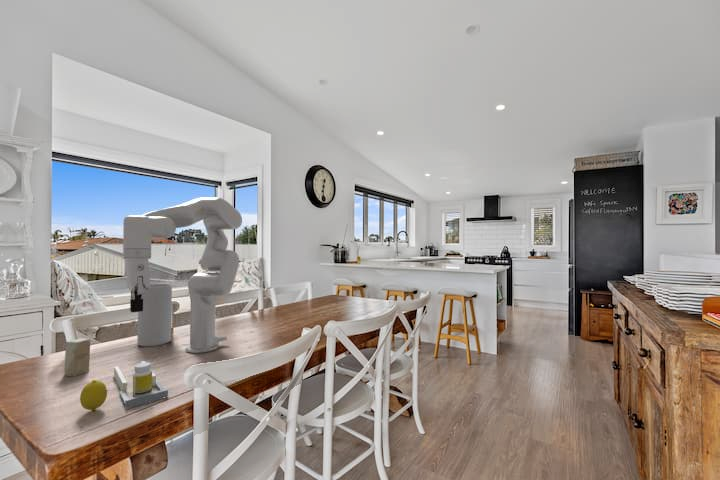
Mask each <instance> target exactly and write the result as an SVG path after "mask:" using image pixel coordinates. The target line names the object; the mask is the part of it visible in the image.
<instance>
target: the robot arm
mask: <svg viewBox="0 0 720 480" xmlns="http://www.w3.org/2000/svg"><path fill="white" fill-rule="evenodd" d="M200 221H202V222H203V225H204V228H205V231H206V233H207V234H206V235H207V241H206V245H205V248H204V251H203V253H202V255H201V259H200V268H201V269H202V270H203V271H206V272H197V273H194V274H192V275H191V276H190V277H189V279H188V282H187V287H188V288H187V289H188V294H189V298H190V302H189V303H190V317H189V323H190V324H189V344H188V345H186V346H185V351H186V352H187V353H191V354H202V353H208V352H212V351H215V350H217V349H219V346H220V344H219V343H220V342H224V341H228V340H227V339H228V338H227V335H224V336H223V335H218V336H217V335H216V310H217V309H216V302H215V300H214V298H213V297H226V296H228V295H229V294H230V293H231V291H232V289H233V286H234V283H235V280H236V276H237V273H238V270H239V266H240V257H239V254H238V253H237V252H236V251H234V250H231V249H227V248H228V246H229V240H228V237H227V236H226V234H225V232H224V230H237V229H239V228H240V227H241V226H242V224H243V217H242V215H241V213H240V211H238V209H237V208H236V207H234V206H233V205H232V204H231V203H230V202H229V201H227V200H225V199H224V198H221V197H216V196H215V197H198V198H194V199H192V200H190V201H187V202H183V203H181V204H179V205H175V206H170V207H166V208H163V209H157V210H152V211H150V212H147V213H144V214H142V215H126V216H125V217H124V218H123V226H122V227H123V235H122V238H123V240H122V249H123V250H122V259H123V260H126V287H127V289H129V290H130V298H129V299H130V304H129V305H130V307H129V308H130V310H129V311H130V313H138V312H140V311H143V288H145V289H146V290H148V289H149V288H150V284H151V280H150V279H151V278H150V277H151V275H150V261H149V259H152V239H155V240H164V239H168V238H171V237H173V236H174V234H175V233H176V231H177V229H180V228H186V227H190V226H192V225H194V224H196V223H198V222H200Z"/></svg>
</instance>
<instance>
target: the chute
mask: <svg viewBox="0 0 720 480" xmlns="http://www.w3.org/2000/svg"><path fill="white" fill-rule="evenodd" d="M140 363H147V362H146V361H145V360H142V361H140ZM113 370H114V371H113V377H114V379H115V381H116V383H117V386H118V387H119V389H120V391H124V392H125V394H126V393H128V392H127V391H128V390H127V389H128V382H127V380H126V378H125V376H124V375H123V373H122V371H121V369H120V367H119V366H113ZM155 383H157V374H155V372H154V371H153V370H152V387H156V386H155Z"/></svg>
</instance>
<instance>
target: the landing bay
mask: <svg viewBox="0 0 720 480" xmlns="http://www.w3.org/2000/svg"><path fill="white" fill-rule="evenodd" d="M154 387H155V388H156V391H152V392H151V393H149V394H145V395H141V396H137V397H135V396H133V397H130V398H129V397H128V396H127V394H126V393H125V392H124V391H121V390H120V391H119V397H120V399H121V401H122V403H123V405H124V408H125V409H129V408H133V407H136V406H139V405H140V406H141V405H144V404H146V402H147V403H150V402H149V401H151V402H154V401H153V400H155V401H157V400H156V399H159V400H161V399H160V398H162V399H164V398H163V397H166V398H168V397H169V389H168V388H164V386H163V385H162V384H161V383H160V381H158V382H157V381H156V383H155V386H154ZM157 390H159V391H157ZM167 396H168V397H167ZM143 403H144V404H143Z"/></svg>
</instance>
